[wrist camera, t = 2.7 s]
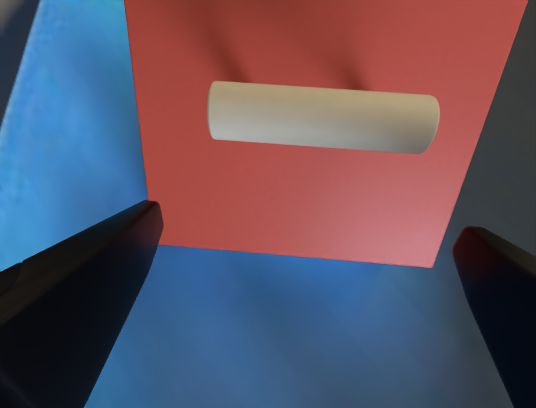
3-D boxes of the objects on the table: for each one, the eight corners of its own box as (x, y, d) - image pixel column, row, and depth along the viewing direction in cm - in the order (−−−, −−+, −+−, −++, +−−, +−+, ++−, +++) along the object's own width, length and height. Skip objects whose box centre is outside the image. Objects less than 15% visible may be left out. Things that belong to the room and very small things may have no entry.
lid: (126, -45, 11) (-38, -167, 6) (525, -24, 11) (789, -134, 5) (158, 238, 17) (90, 323, 11) (427, 261, 16) (503, 362, 11)
